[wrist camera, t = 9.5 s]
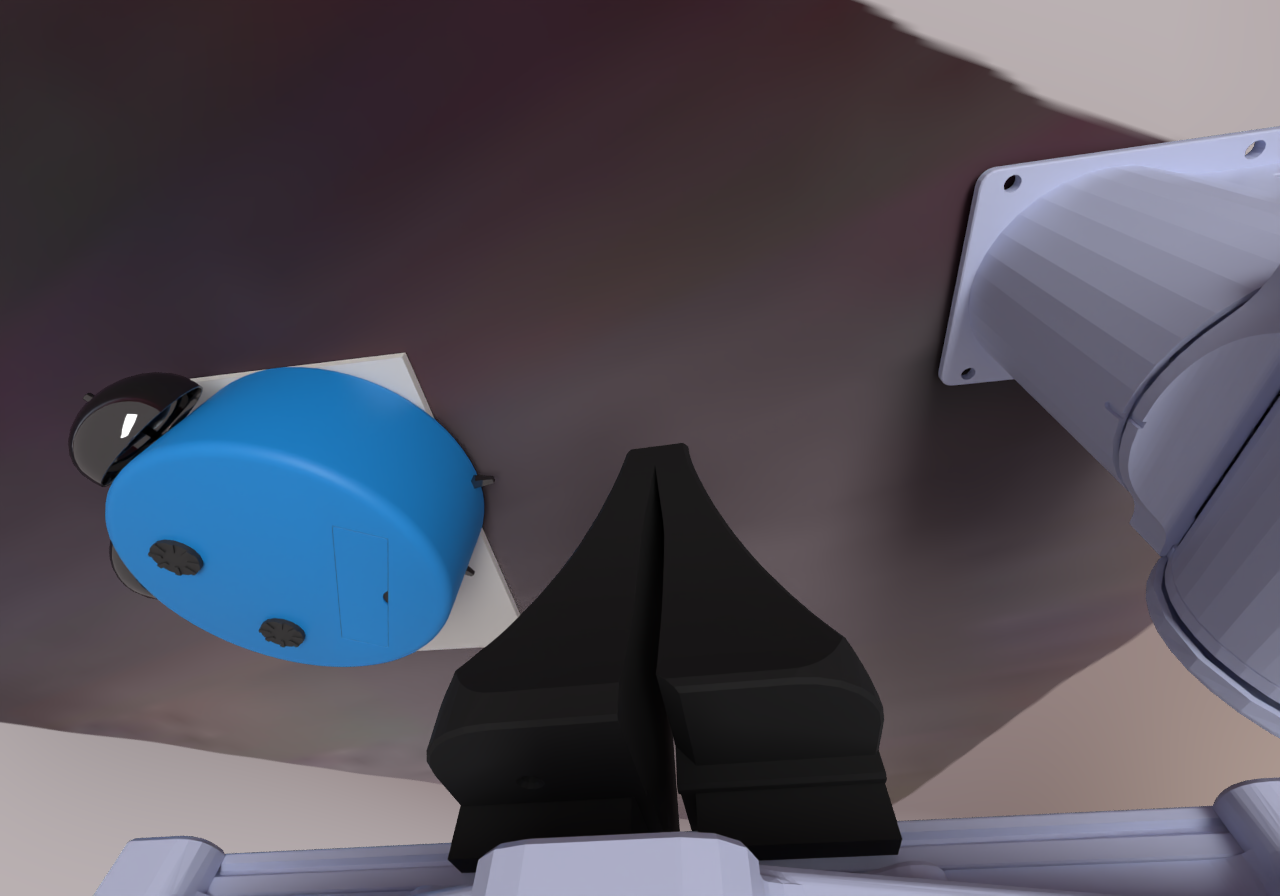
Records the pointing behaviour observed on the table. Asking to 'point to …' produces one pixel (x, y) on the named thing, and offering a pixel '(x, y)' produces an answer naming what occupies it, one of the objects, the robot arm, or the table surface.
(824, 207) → the table surface
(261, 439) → the alarm clock
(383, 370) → the mat
